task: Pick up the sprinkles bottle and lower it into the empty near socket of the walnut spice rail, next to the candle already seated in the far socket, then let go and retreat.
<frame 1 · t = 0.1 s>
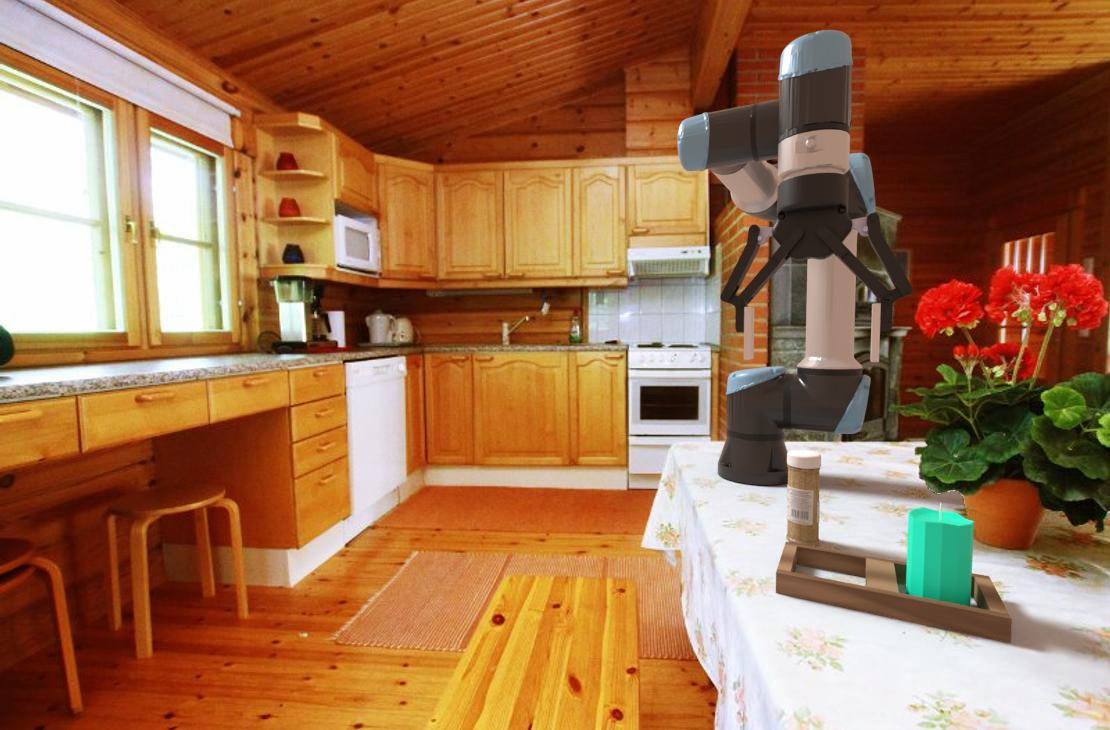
hand: (808, 360, 64), 28 cm above the table, fingers open, 13 cm apart
sprinkles bottle: (802, 542, 80), on the table
walnut rail: (880, 594, 64), on the table
candle: (936, 607, 61), resting in walnut rail
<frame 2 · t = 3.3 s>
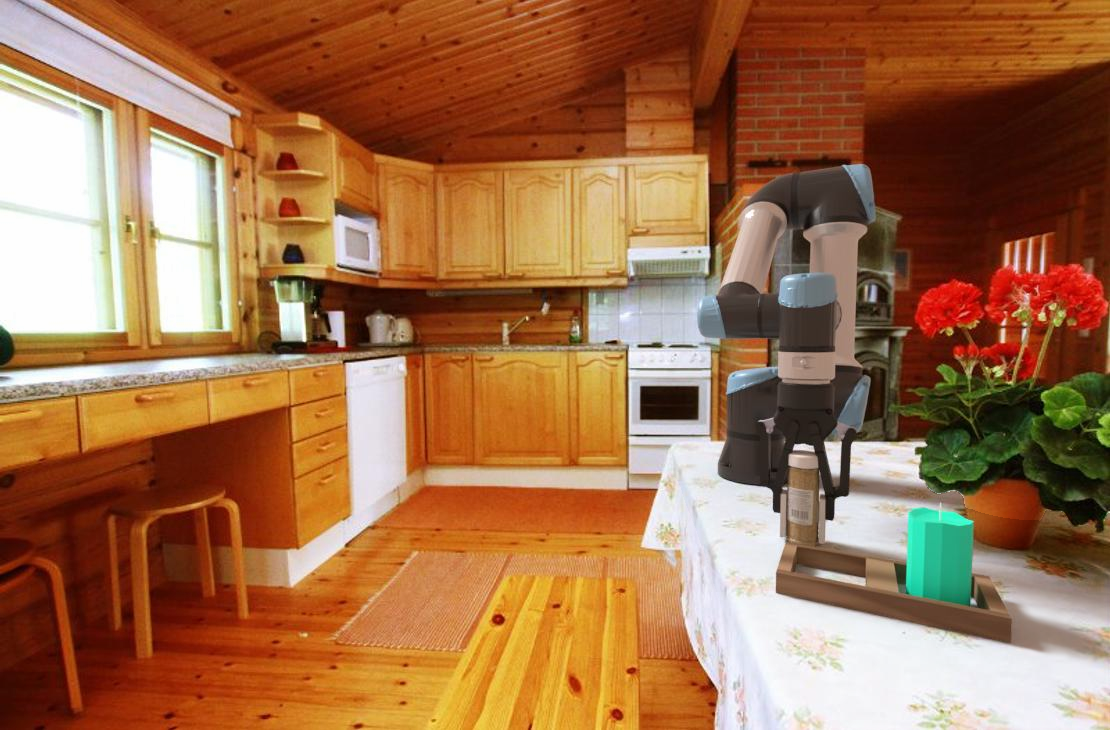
hand: (802, 536, 80), 1 cm above the table, fingers closed on sprinkles bottle, 4 cm apart
sprinkles bottle: (802, 542, 80), on the table, touching gripper
everything else where it was.
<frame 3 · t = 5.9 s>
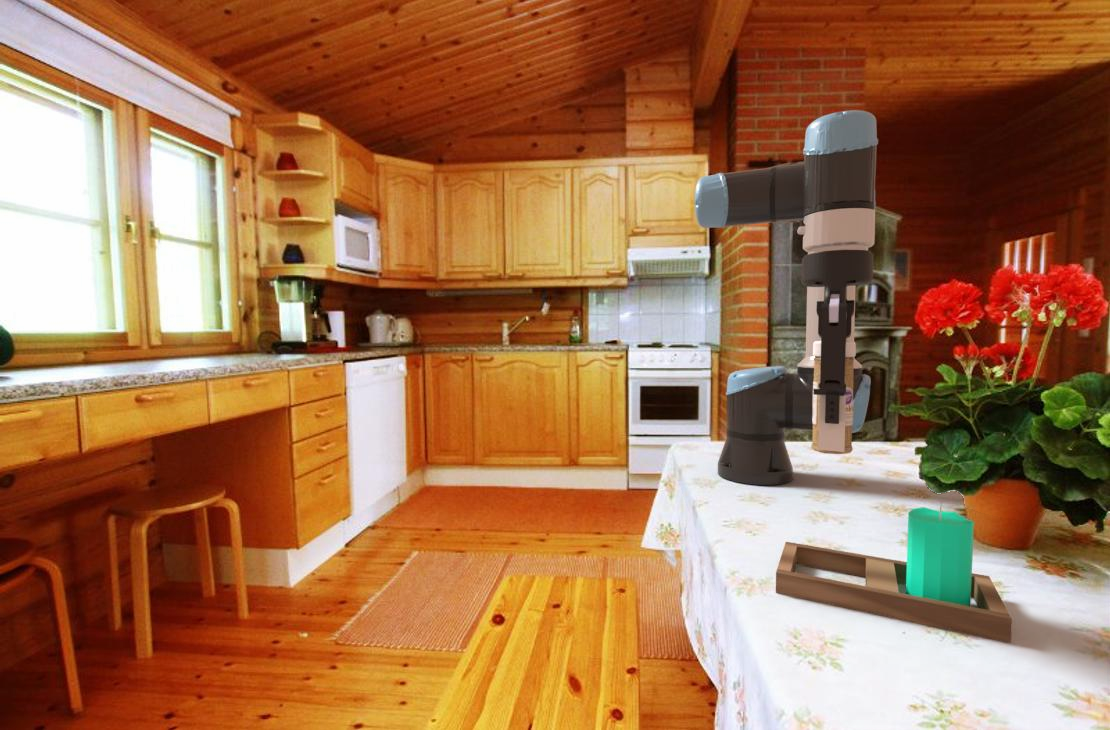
hand: (832, 445, 65), 17 cm above the table, fingers closed on sprinkles bottle, 4 cm apart
sprinkles bottle: (831, 452, 65), point 17 cm above the table, touching gripper
everything else where it was.
when the fingers open (3 cm above the table, at t = 8.6 s): sprinkles bottle drops 2 cm, resting in walnut rail.
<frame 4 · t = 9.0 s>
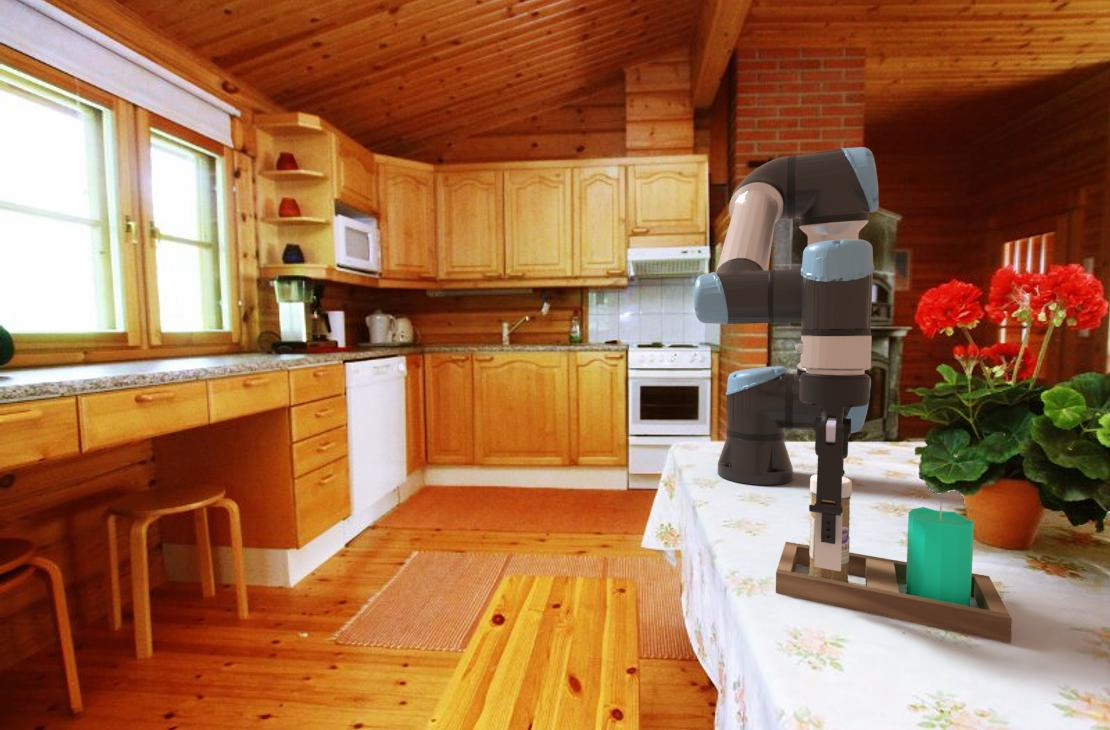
hand: (829, 549, 66), 4 cm above the table, fingers open, 10 cm apart
sprinkles bottle: (828, 585, 67), resting in walnut rail
everything else where it was.
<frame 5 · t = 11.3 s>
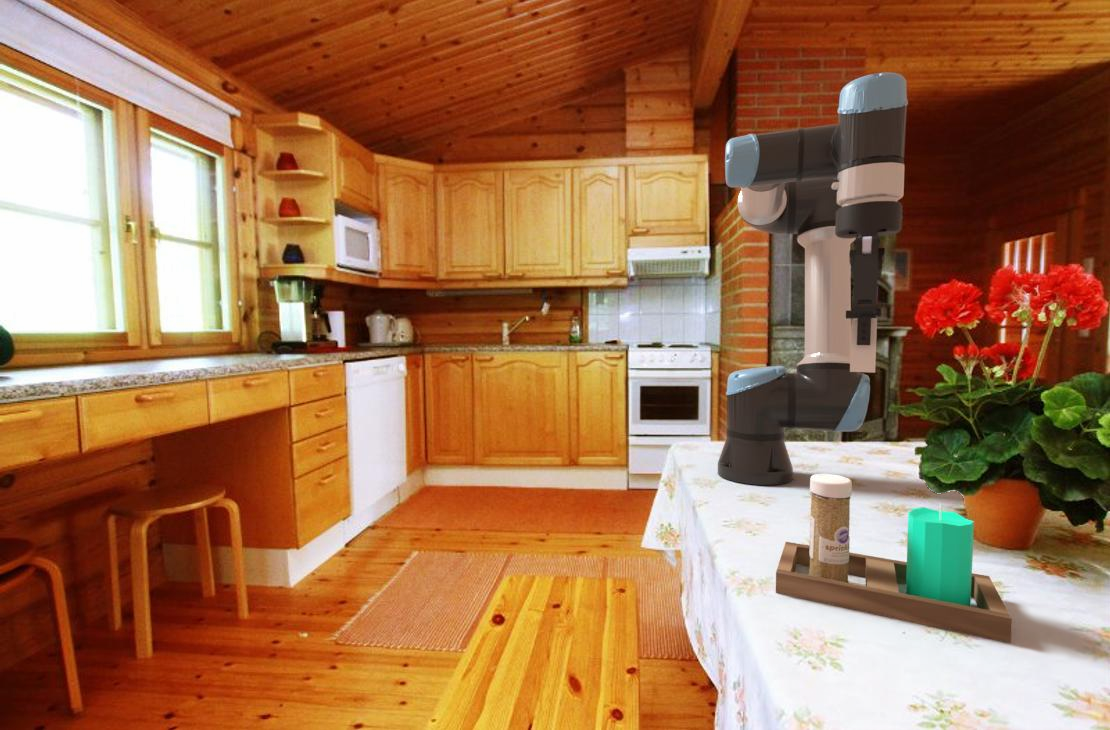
hand: (862, 366, 72), 26 cm above the table, fingers open, 13 cm apart
nothing on the table moved.
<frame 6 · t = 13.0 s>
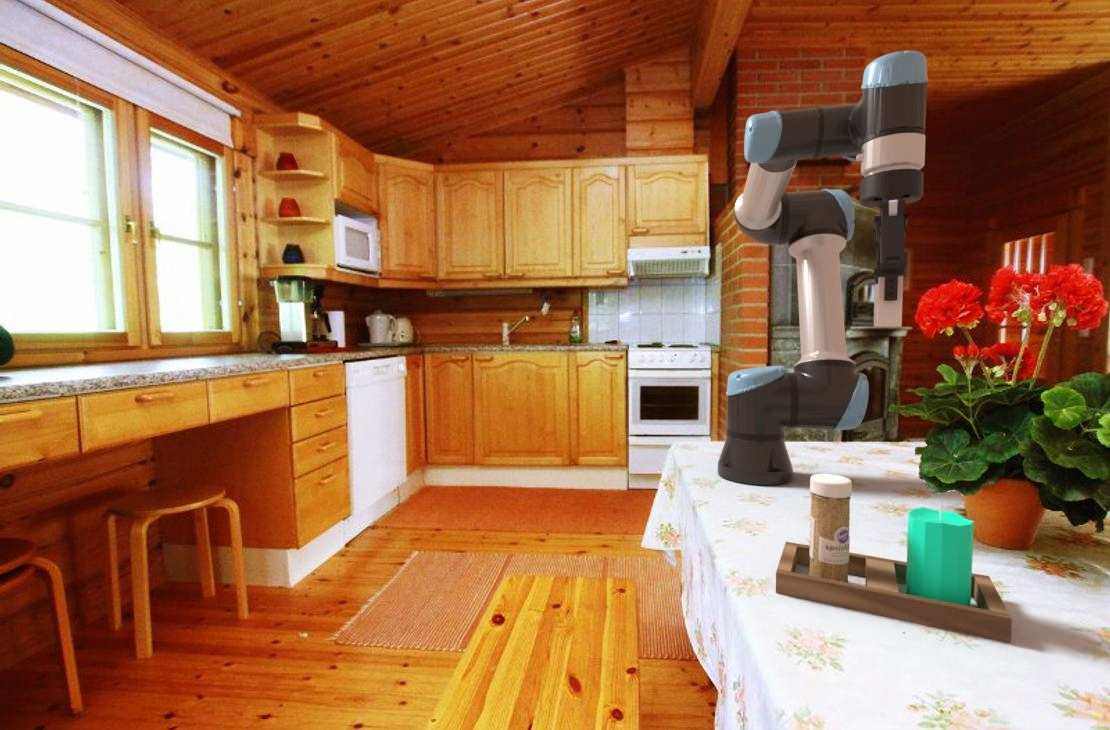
hand: (886, 327, 76), 32 cm above the table, fingers open, 13 cm apart
nothing on the table moved.
at the end: sprinkles bottle 0.1 cm from the target spot on the walnut rail, point 0.0 cm above the walnut rail's base; sprinkles bottle tilted 0°; sprinkles bottle touching table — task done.
